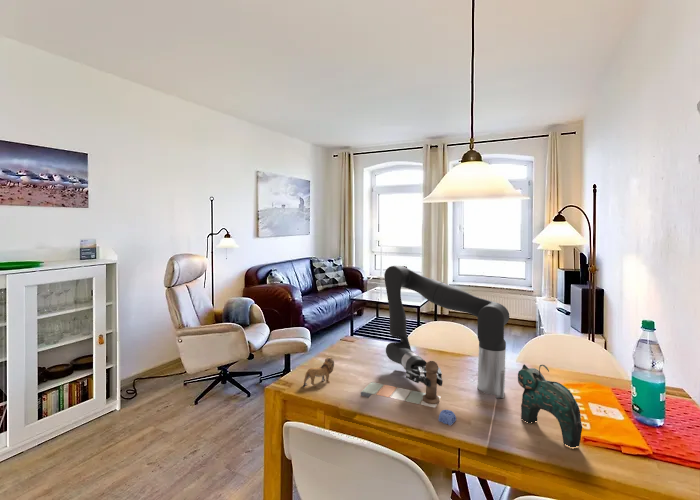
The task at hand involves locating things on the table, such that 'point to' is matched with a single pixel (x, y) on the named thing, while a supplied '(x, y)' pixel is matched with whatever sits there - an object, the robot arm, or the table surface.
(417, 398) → the game board
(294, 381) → the table surface
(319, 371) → the lion figurine
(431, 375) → the pawn
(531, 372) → the ceramic cat
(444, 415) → the decorative dice
